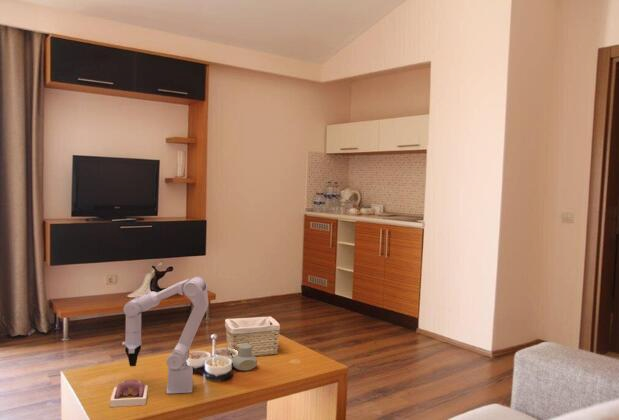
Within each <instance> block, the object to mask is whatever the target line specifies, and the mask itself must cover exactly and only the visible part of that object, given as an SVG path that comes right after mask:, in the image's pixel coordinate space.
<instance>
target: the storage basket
mask: <svg viewBox="0 0 619 420" xmlns="http://www.w3.org/2000/svg"><path fill="white" fill-rule="evenodd" d="M224 322H225V323H224V327H225V329H226V330H225V331H226V334H225V336H226V344H227V346H226V348H227V347H229V348H231V349H235V350H237V351H238V346H239V345H241V344H250V345H251V346H252V355H254V356H255V357H259V356H268V355H276V354H278V349H279V348H278V346H279V337H280V330H281V325H280V323H279V322H278V321H277V319H275V318H274V317H272V316H257V317H256V316H255V317H241V318H240V317H239V318H226V319H225V320H224Z"/></svg>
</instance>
